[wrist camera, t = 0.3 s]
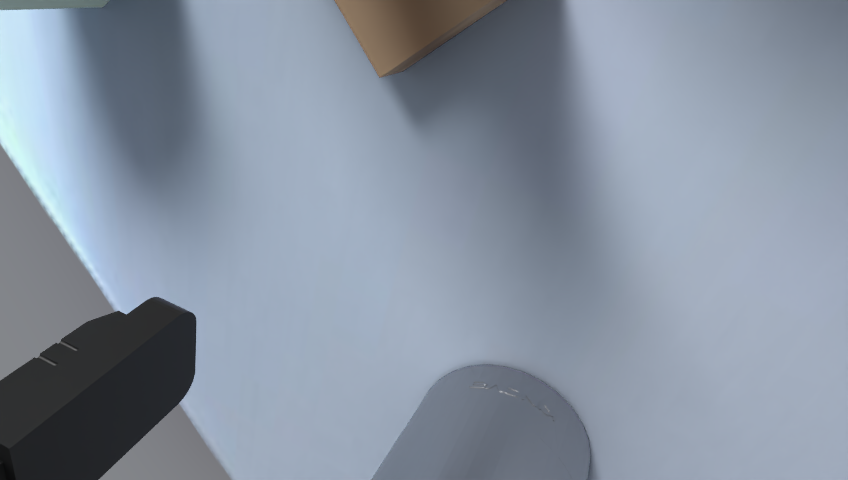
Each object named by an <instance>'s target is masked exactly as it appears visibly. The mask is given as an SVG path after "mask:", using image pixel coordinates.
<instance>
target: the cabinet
mask: <svg viewBox="0 0 848 480" xmlns="http://www.w3.org/2000/svg"><path fill="white" fill-rule="evenodd" d="M109 1H110V0H0V10H21V9H62V8H103V7H104V6H105V5H106V4H107V3H108V2H109Z"/></svg>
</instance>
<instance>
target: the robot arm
mask: <svg viewBox="0 0 848 480" xmlns="http://www.w3.org/2000/svg"><path fill="white" fill-rule="evenodd" d="M195 356H196V317H195V315H194V314H193V313H191V312H189V311H187V310H185V309H183V308H181V307H179V306H177V305H174V304H172V303H170V302H168V301H166V300H164V299H162V298H159V297H153V298H150V299H148V300H147V301H145V302H144V303H142V304H141V305H139V306H138V307H137V308H135V309H134V310H132V311H131V312H130V313H128V314H127V315H126V314H124V313H122V312H120V311H117V312H114V313H111V314H108V315H105V316H102V317H99V318H96V319H94V320H91V321H88V322H86V323H85V324H83V325H82V326H80V327H79V328H77V329H76V330H74V331H73V332H71V333H70V334H68V335H67V336H65V337H64V338H62V339H61V342H60V343H59V344H57V343H55V344H54V345H52V346H51V347H49V348H48V349H46V350H45V351H43V352H42V353H40V356H39V357H38V358H33V359H32V360H30V361H29V362H27V363H26V364H24V365H23V366H21V367H20V368H18V369H17V370H15V371H14V372H13V373H11V374H9V375H8V376H7V377H5V378H4V379H2V380H1V381H0V480H98V479H100V477H102V476H103V475H104V474H105V473H106V472H107V471H108V470H109V469H110V468H111V467H112V466H113V465H114V464H115V463H116V462H117V461H118V460H120V459H121V458H122V457H123V456H124V455H125V454H126V453H127V452H128V451H129V450H130V449H131V448H132V447H133V446H134V445H135V444H136V443H137V442H139V441H140V440H141V439H142V438H143V437H144V436H145V435H146V434H147V433H148V432H149V431H150V430H151V429H152V428H153V427H154V426H155V425H156V424H158V423H159V421H161V420H162V419H163V418H164V417H165V416H166V415H167V414H168V413H169V412H170V411H171V410H172V409H173V408H174V407H175V406H177V405H178V404H179V402H180V401H181V400H182V399H183V398H184V396H185V395H186V393H187V392H188V390H189V388H190V386H191V384H192V382H193V379H194V375H195ZM590 459H591V454H590V447H589V440H588V437H587V434H586V432H585V429H584V426H583V424H582V422H581V420H580V419H579V417H578V416H577V414H576V413H575V411H574V410H573V408H572V407H571V406H570V405H569V404H568V403H567V402H566V400H565V399H564V398H563V397H562V396H561V395H560V394H559V393H558V392H556V391H555V390H554V389H552V388H551V387H549V386H548V385H547V384H545V383H544V382H543V381H541V380H539V379H537V378H535V377H533V376H531V375H529V374H527V373H525V372H522V371H518V370H515V369H511V368H508V367H504V366H494V365H477V366H468V367H465V368H462V369H459V370H455V371H453V372H451V373H449V374H448V375H446V376H444V377H443V378H441V379H439V380H438V382H437V383H436V384H435V385H434V386H433V387H432V388H431V389H430V390H429V391H428V393H427V394H426V396H425V398H424V399H423V401H422V402H421V404H420V405H419V407H418V408H417V410H416V412H415V413H414V415H413V416H412V418H411V419H410V421H409V422H408V424H407V426H406V427H405V429H404V430H403V432H402V433H401V434H400V436H399V437H398V439H397V441H396V442H395V444H394V445H393V447H392V448H391V450H390V451H389V453H388V455H387V456H386V458H385V459H384V461H383V462H382V464H381V465H380V467H379V468H378V470H377V472H376V473H375V475H374V476H373V478H372V479H371V480H587V478H588V473H589V466H590Z"/></svg>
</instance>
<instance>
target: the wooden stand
mask: <svg viewBox="0 0 848 480" xmlns="http://www.w3.org/2000/svg"><path fill="white" fill-rule="evenodd" d="M505 1H507V0H335V2H336V4H337V6H338V7H339V9H340V11H341V12H342V14H343V16H344V18H345V19H346V21H347V23H348V24H349V26H350V28H351V30H352V31H353V33H354V35H355V36H356V38H357V40H358V42H359V43H360V45H361V47H362V48H363V50H364V52H365V53H366V55H367V57H368V59H369V60H370V62H371V64H372V65H373V67H374V69H375V71H376V72H377V74H378V76H379V77H380V78H381V77H384V76H388V75H392V74H395V73H399V72H403V71H404V70H406V69H407V68H408V67H410V66H411V65H413V64H414V63H416V62H417V61H419V60H420V59H422V58H423V57H425V56H426V55H428V54H429V53H431V52H432V51H433V50H435V49H436V48H438V47H439V46H441V45H442V44H444V43H445V42H447V41H448V40H450V39H451V38H453V37H454V36H456V35H457V34H458V33H460V32H461V31H463V30H464V29H466V28H467V27H469V26H470V25H472V24H473V23H475V22H476V21H478V20H479V19H481V18H482V17H483V16H485V15H486V14H488V13H489V12H491V11H492V10H494V9H495V8H497V7H498V6H500V5H501V4H503V3H504V2H505Z"/></svg>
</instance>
